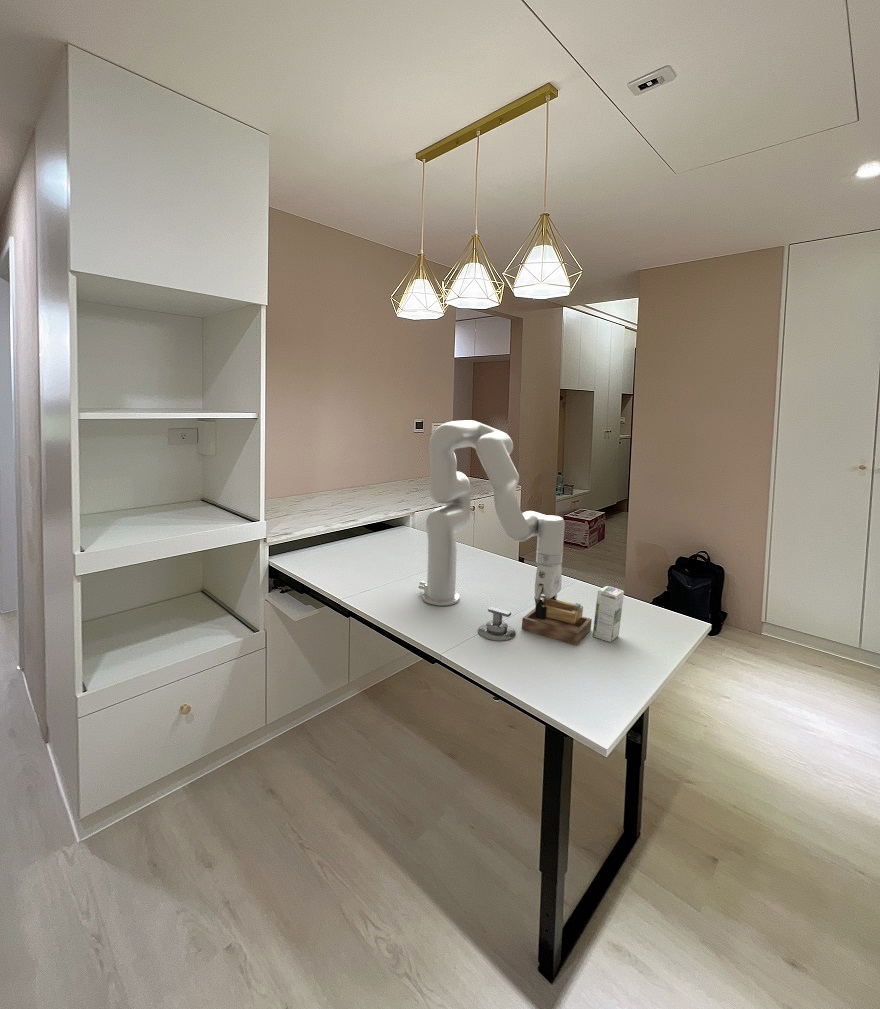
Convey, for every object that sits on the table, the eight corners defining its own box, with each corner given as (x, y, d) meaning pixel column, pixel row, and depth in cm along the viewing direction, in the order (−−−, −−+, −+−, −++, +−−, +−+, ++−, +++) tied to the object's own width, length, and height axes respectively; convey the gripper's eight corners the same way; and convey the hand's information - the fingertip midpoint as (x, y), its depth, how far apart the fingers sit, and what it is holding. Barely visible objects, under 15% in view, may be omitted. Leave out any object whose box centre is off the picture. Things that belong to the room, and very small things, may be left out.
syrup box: (600, 630, 160) (604, 584, 157) (619, 636, 157) (624, 590, 154) (592, 636, 156) (596, 590, 153) (611, 643, 152) (616, 595, 149)
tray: (521, 629, 159) (522, 617, 159) (537, 615, 169) (538, 605, 169) (576, 645, 150) (578, 633, 150) (590, 630, 160) (591, 619, 159)
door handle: (471, 634, 155) (472, 611, 154) (489, 621, 164) (490, 599, 163) (505, 644, 149) (506, 621, 148) (521, 630, 158) (523, 608, 157)
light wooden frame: (574, 623, 152) (575, 609, 152) (535, 613, 159) (535, 599, 158) (582, 615, 158) (583, 601, 157) (544, 606, 165) (545, 592, 164)
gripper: (549, 567, 148) (545, 627, 152) (571, 553, 162) (567, 607, 166) (525, 562, 152) (521, 620, 156) (548, 548, 166) (545, 602, 170)
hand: (545, 613), depth 161 cm, fingers closed on light wooden frame, 7 cm apart
